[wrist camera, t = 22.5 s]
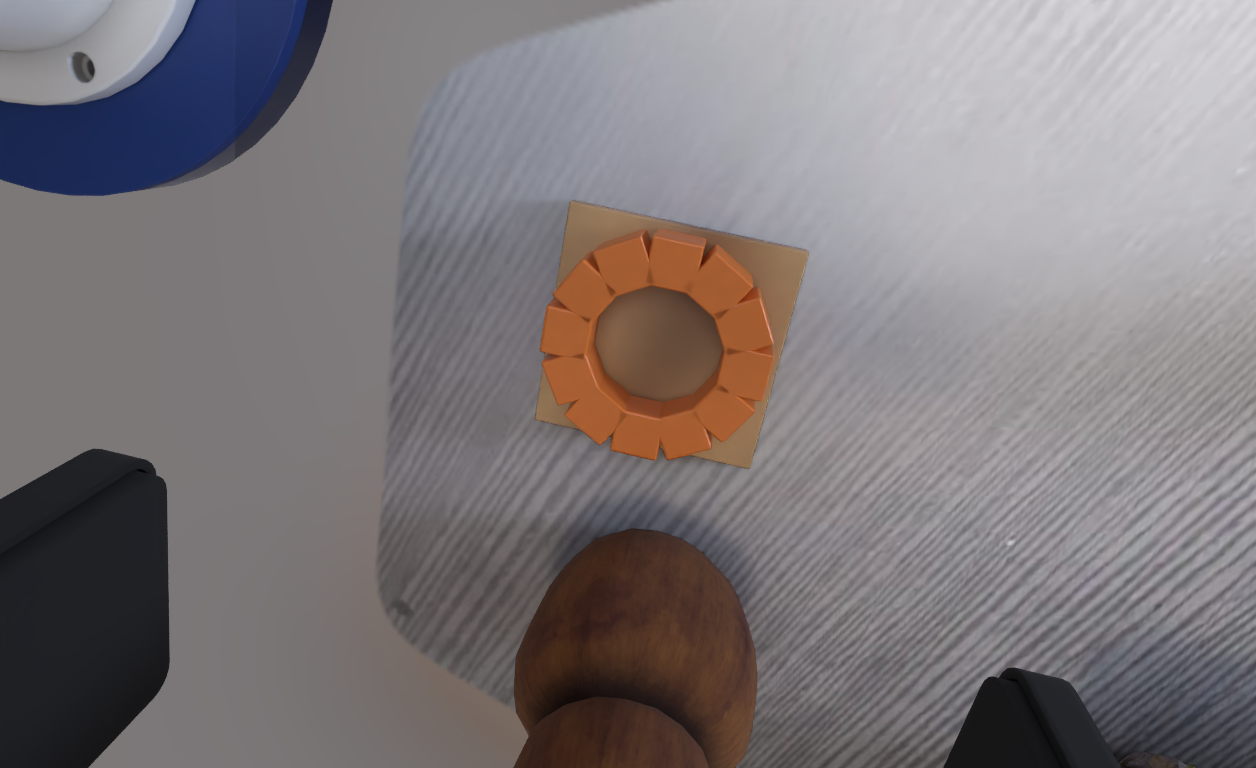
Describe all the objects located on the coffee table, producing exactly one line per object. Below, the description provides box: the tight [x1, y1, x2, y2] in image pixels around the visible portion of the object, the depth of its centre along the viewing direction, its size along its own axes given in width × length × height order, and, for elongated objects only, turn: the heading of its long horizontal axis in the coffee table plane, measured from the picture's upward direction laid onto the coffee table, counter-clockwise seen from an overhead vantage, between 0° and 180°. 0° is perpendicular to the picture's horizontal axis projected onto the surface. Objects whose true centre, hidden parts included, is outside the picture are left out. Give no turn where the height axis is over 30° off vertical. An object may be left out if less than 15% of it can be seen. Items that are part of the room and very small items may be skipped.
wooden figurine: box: [514, 529, 757, 768], centre depth 20 cm, size 7×6×15 cm
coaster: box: [535, 200, 809, 469], centre depth 24 cm, size 7×7×1 cm
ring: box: [540, 228, 774, 460], centre depth 23 cm, size 7×7×1 cm
